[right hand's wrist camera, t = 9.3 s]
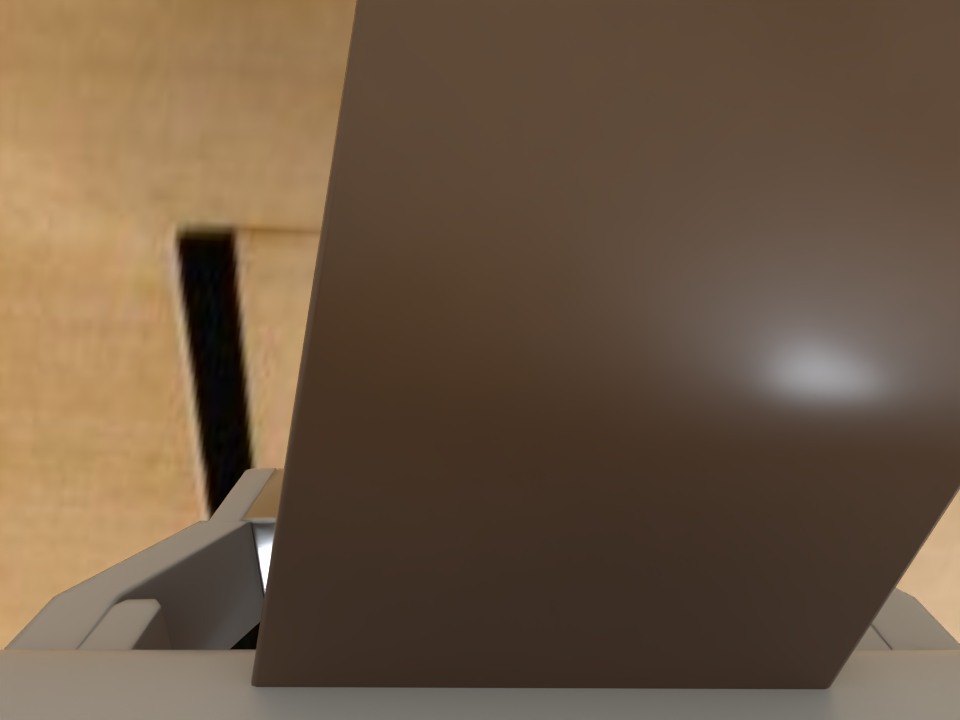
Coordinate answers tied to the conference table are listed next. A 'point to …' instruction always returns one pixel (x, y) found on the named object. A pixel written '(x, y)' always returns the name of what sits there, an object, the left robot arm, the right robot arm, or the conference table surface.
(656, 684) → the bar
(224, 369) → the conference table surface
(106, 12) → the conference table surface
